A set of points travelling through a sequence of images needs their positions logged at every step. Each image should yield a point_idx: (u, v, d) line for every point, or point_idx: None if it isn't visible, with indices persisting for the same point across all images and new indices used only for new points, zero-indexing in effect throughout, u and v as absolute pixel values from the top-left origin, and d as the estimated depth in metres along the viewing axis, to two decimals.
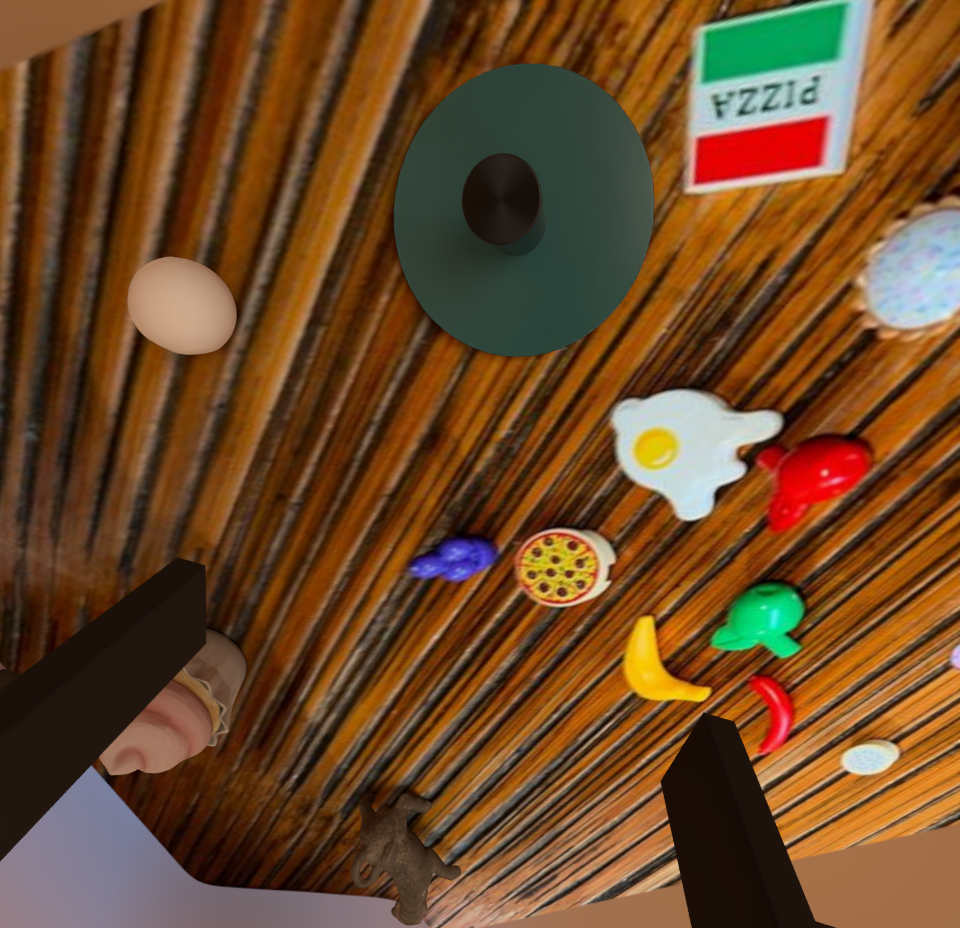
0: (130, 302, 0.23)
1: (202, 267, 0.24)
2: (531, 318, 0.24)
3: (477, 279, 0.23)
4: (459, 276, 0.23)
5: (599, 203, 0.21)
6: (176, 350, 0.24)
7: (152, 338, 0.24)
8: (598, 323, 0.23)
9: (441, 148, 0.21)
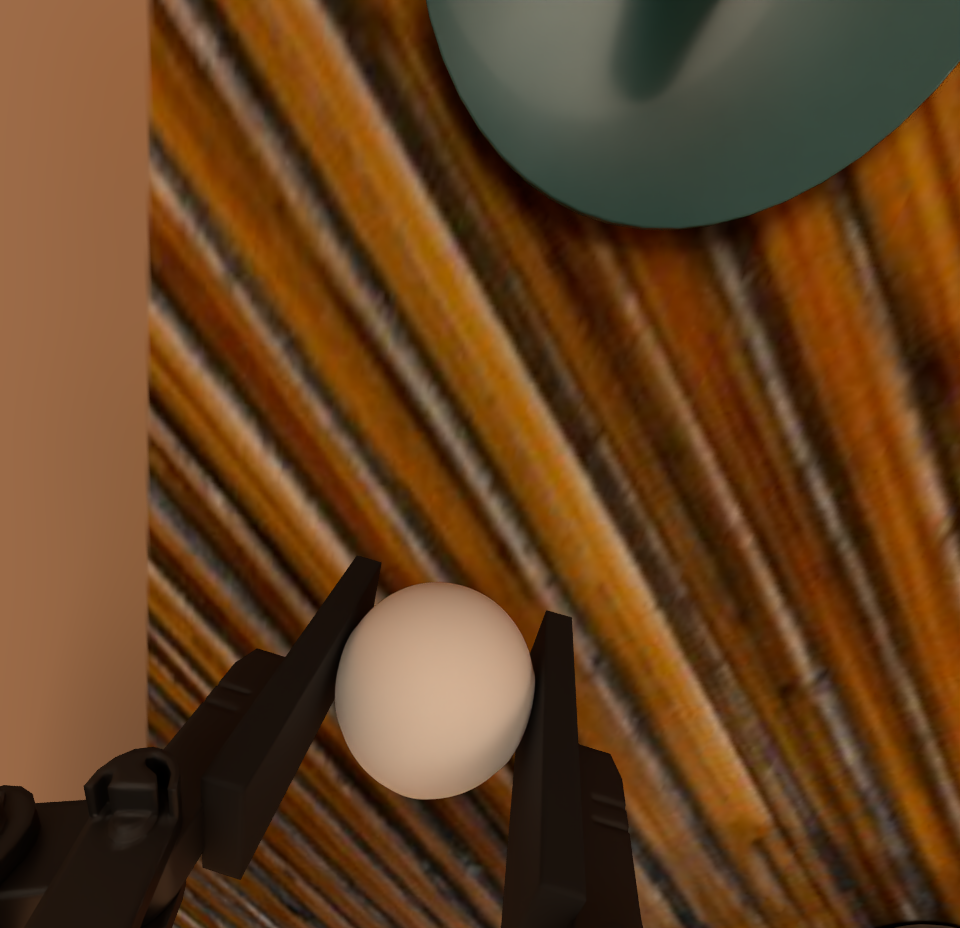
0: (377, 780, 0.10)
1: (391, 603, 0.11)
2: None
3: (748, 57, 0.10)
4: (714, 100, 0.10)
5: None
6: (501, 767, 0.11)
7: (457, 794, 0.10)
8: None
9: (487, 6, 0.10)
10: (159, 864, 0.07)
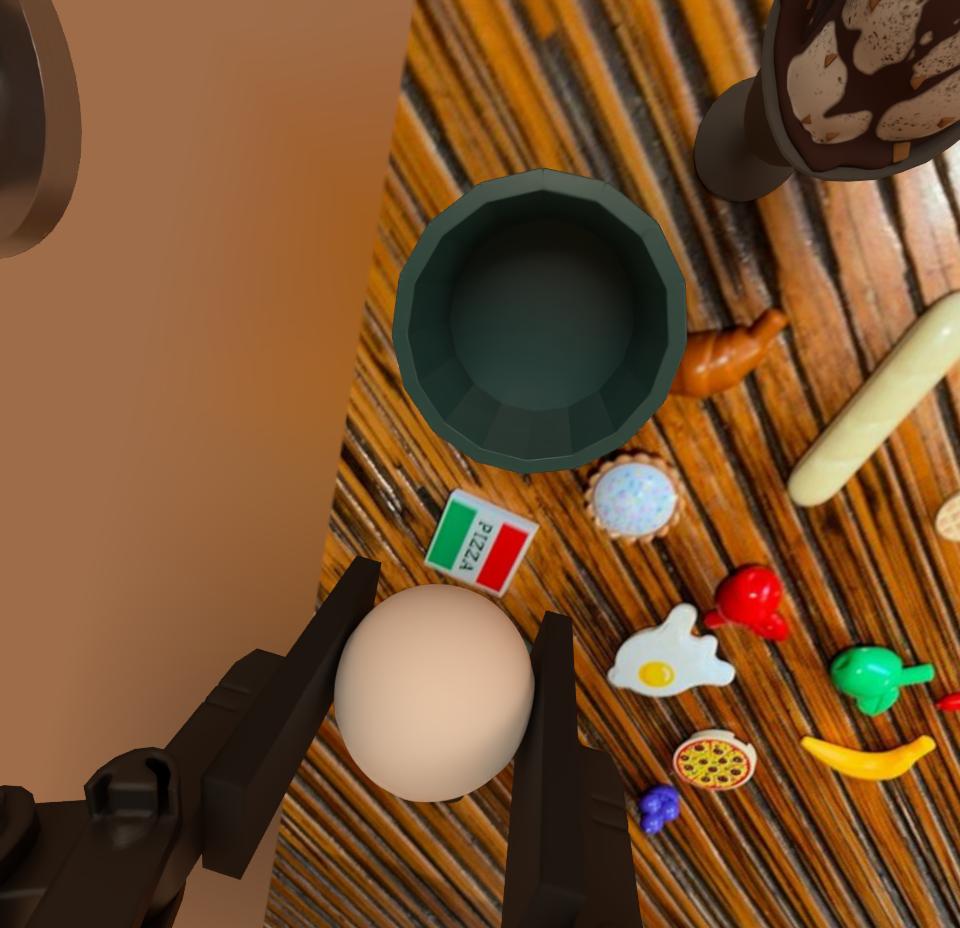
0: (376, 783, 0.10)
1: (391, 605, 0.11)
2: None
3: None
4: None
5: None
6: (501, 770, 0.11)
7: (456, 797, 0.10)
8: None
9: None
10: (159, 864, 0.07)
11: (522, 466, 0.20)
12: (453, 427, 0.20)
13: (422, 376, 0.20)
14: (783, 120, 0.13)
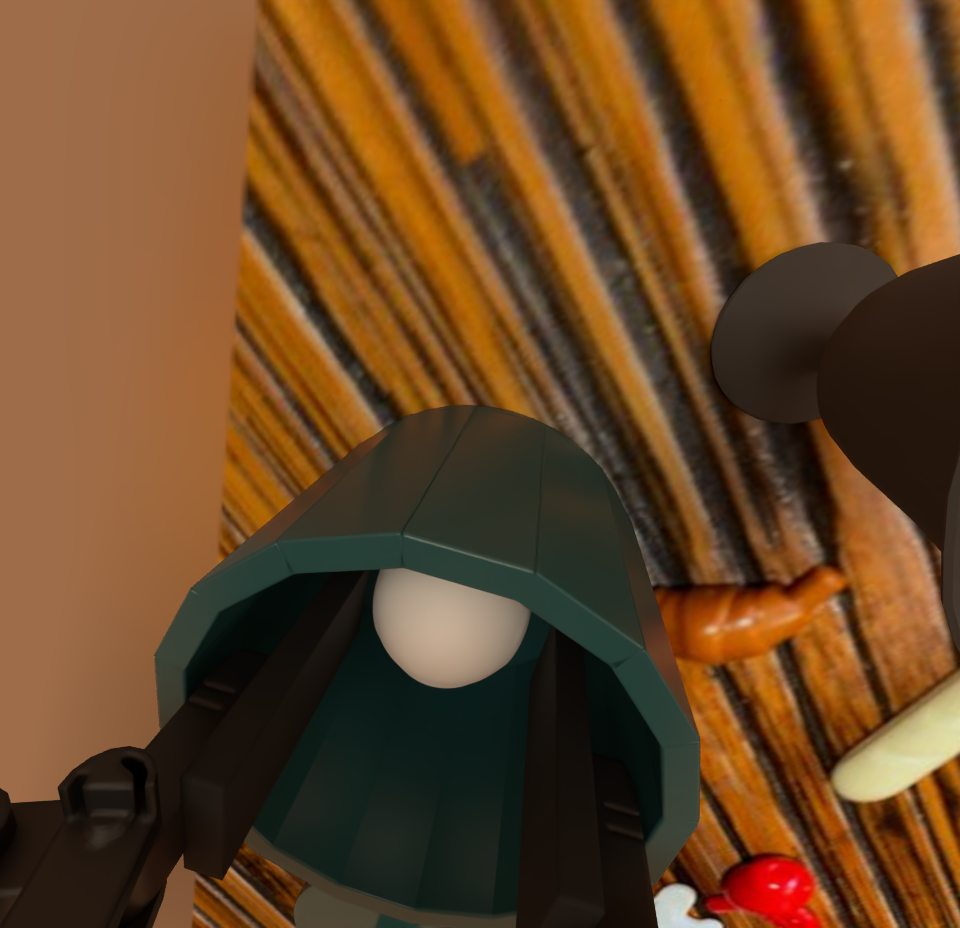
0: (408, 670, 0.13)
1: None
2: None
3: None
4: None
5: None
6: (505, 663, 0.13)
7: (470, 682, 0.13)
8: None
9: None
10: (137, 863, 0.07)
11: (409, 916, 0.12)
12: (288, 852, 0.12)
13: None
14: None
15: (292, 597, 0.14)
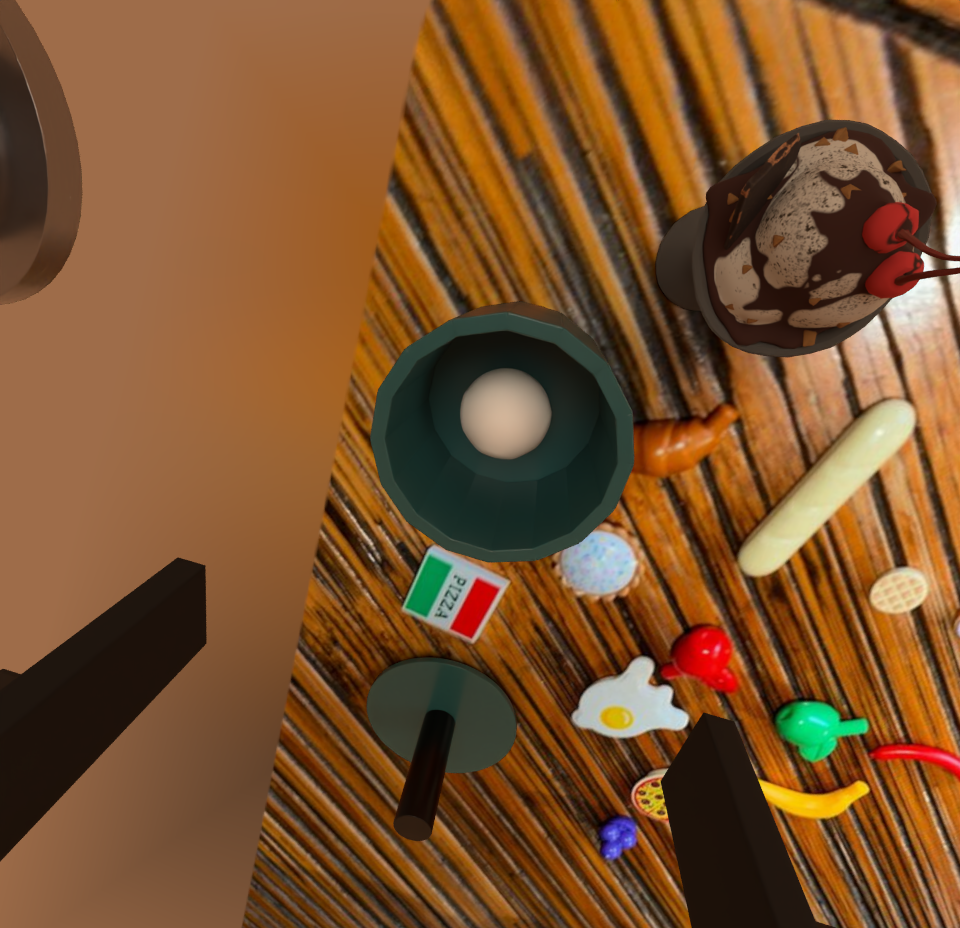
0: (483, 441, 0.24)
1: (487, 372, 0.24)
2: (489, 739, 0.38)
3: (453, 747, 0.38)
4: None
5: (451, 689, 0.36)
6: (537, 441, 0.24)
7: (518, 449, 0.24)
8: (513, 717, 0.36)
9: (386, 727, 0.39)
10: None
11: (487, 556, 0.22)
12: (425, 519, 0.22)
13: (398, 471, 0.22)
14: (711, 303, 0.15)
15: (413, 407, 0.25)
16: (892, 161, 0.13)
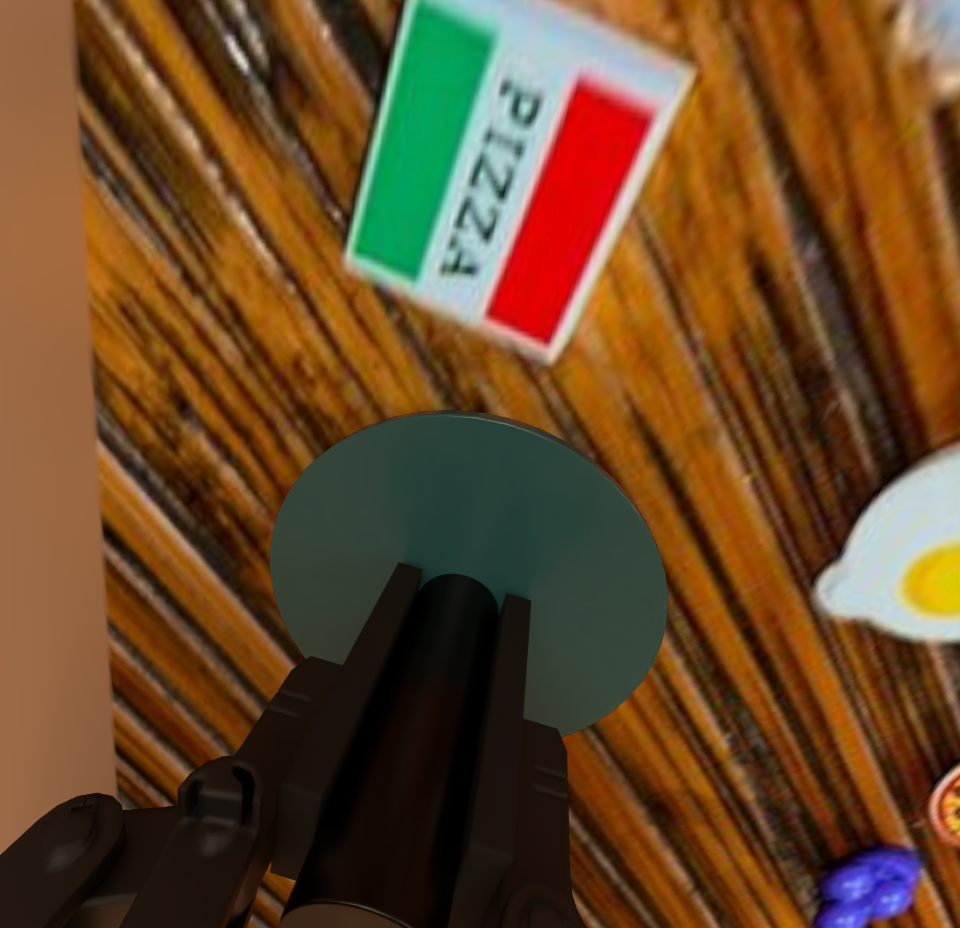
0: None
1: None
2: (589, 655, 0.14)
3: None
4: None
5: (491, 504, 0.13)
6: None
7: None
8: (663, 584, 0.13)
9: (324, 634, 0.16)
10: (240, 876, 0.07)
11: None
12: None
13: None
14: None
15: None
16: None
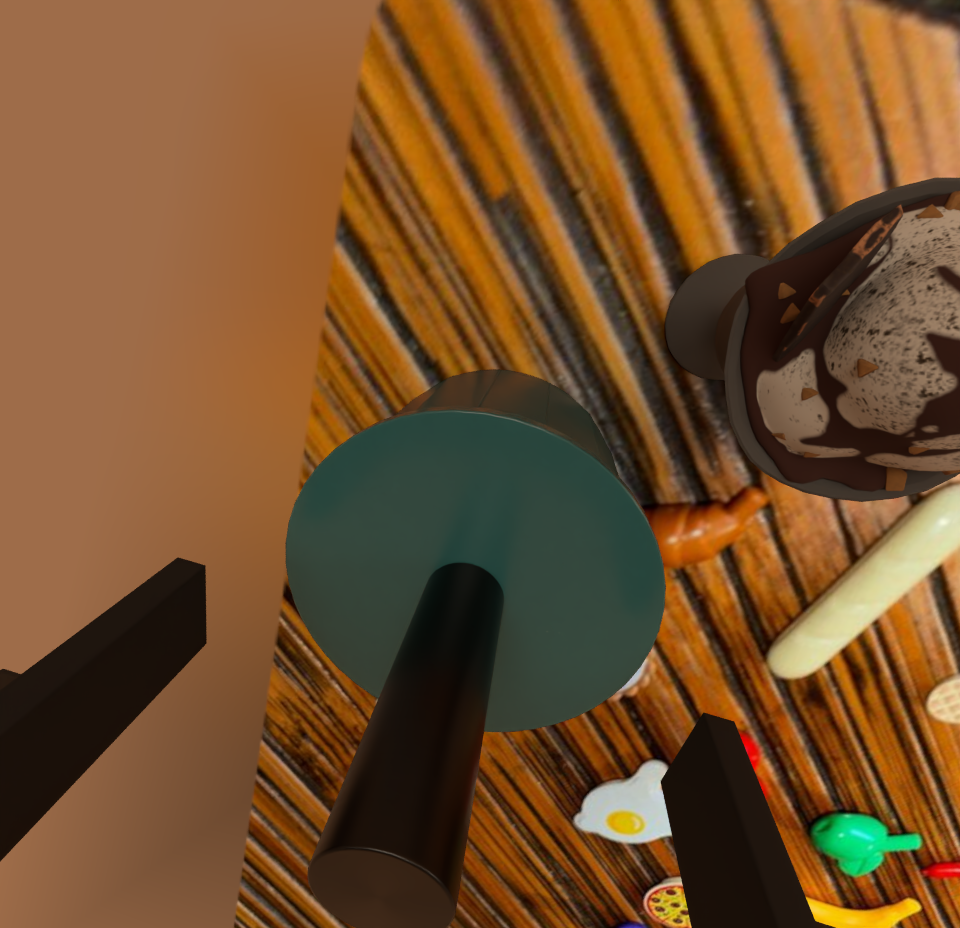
0: None
1: None
2: (590, 641, 0.15)
3: (498, 667, 0.16)
4: None
5: (497, 496, 0.14)
6: None
7: None
8: (660, 571, 0.14)
9: (336, 621, 0.16)
10: None
11: None
12: None
13: None
14: (752, 427, 0.11)
15: None
16: None
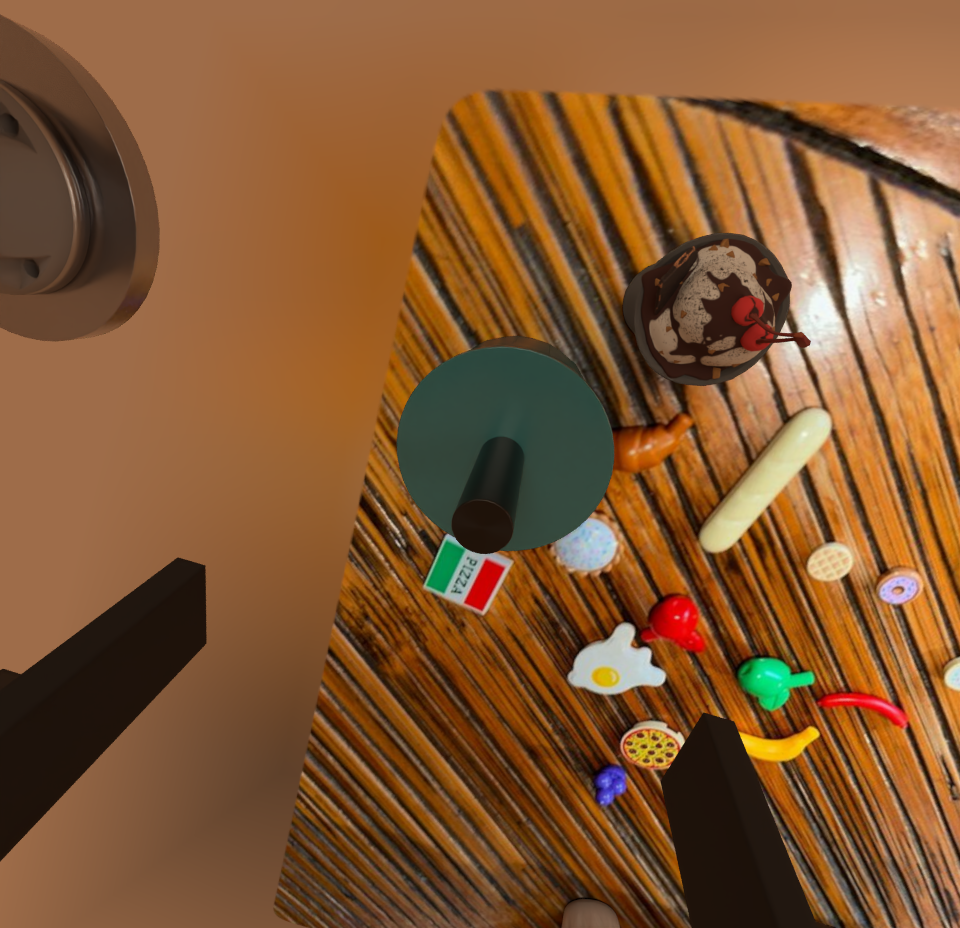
0: None
1: None
2: (573, 483, 0.26)
3: (520, 504, 0.27)
4: None
5: (521, 395, 0.25)
6: None
7: None
8: (611, 437, 0.25)
9: (424, 479, 0.28)
10: None
11: None
12: None
13: None
14: (649, 349, 0.22)
15: None
16: (761, 258, 0.20)
